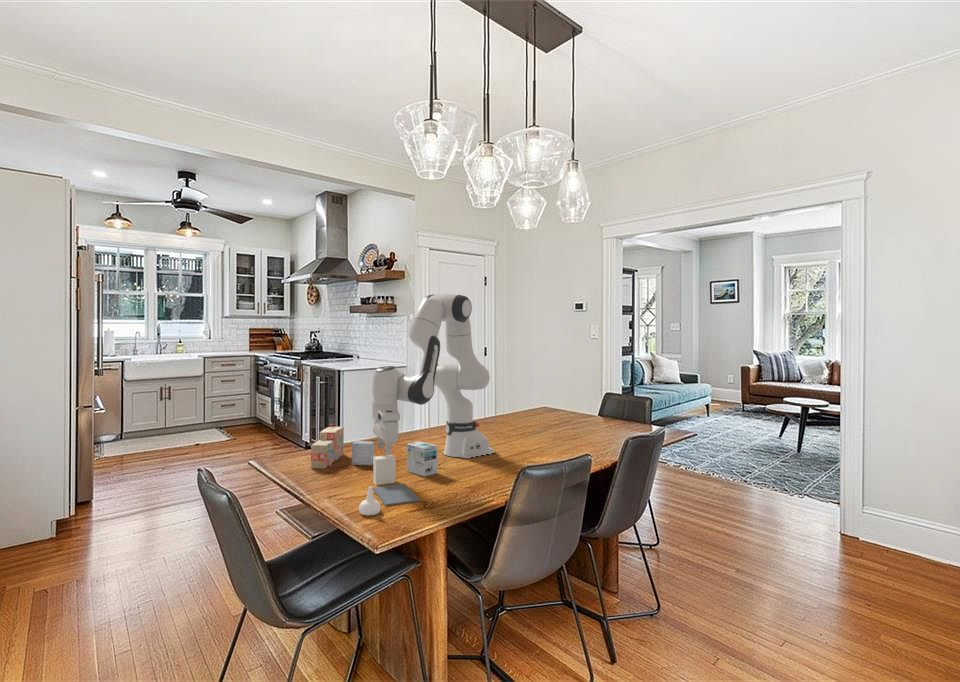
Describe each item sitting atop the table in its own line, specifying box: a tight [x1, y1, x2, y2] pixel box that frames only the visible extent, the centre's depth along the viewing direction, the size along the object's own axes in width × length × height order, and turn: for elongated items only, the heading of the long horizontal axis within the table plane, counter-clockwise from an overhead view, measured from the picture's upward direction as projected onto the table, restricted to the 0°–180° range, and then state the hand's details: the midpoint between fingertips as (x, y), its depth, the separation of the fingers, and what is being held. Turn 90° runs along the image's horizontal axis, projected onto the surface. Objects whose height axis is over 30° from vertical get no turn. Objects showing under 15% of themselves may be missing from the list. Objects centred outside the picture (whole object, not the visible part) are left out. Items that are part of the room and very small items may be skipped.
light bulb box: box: [406, 440, 438, 477], centre depth 187 cm, size 11×7×11 cm, turn 47°
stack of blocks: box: [310, 426, 345, 469], centre depth 200 cm, size 21×6×12 cm, turn 178°
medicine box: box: [351, 440, 375, 466], centre depth 197 cm, size 8×4×9 cm, turn 84°
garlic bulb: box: [358, 486, 381, 517], centre depth 146 cm, size 6×6×8 cm
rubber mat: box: [372, 483, 421, 507], centre depth 161 cm, size 11×17×1 cm, turn 25°
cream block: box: [372, 454, 397, 486], centre depth 174 cm, size 7×4×9 cm, turn 115°
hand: (384, 451), depth 174 cm, fingers open, 8 cm apart
